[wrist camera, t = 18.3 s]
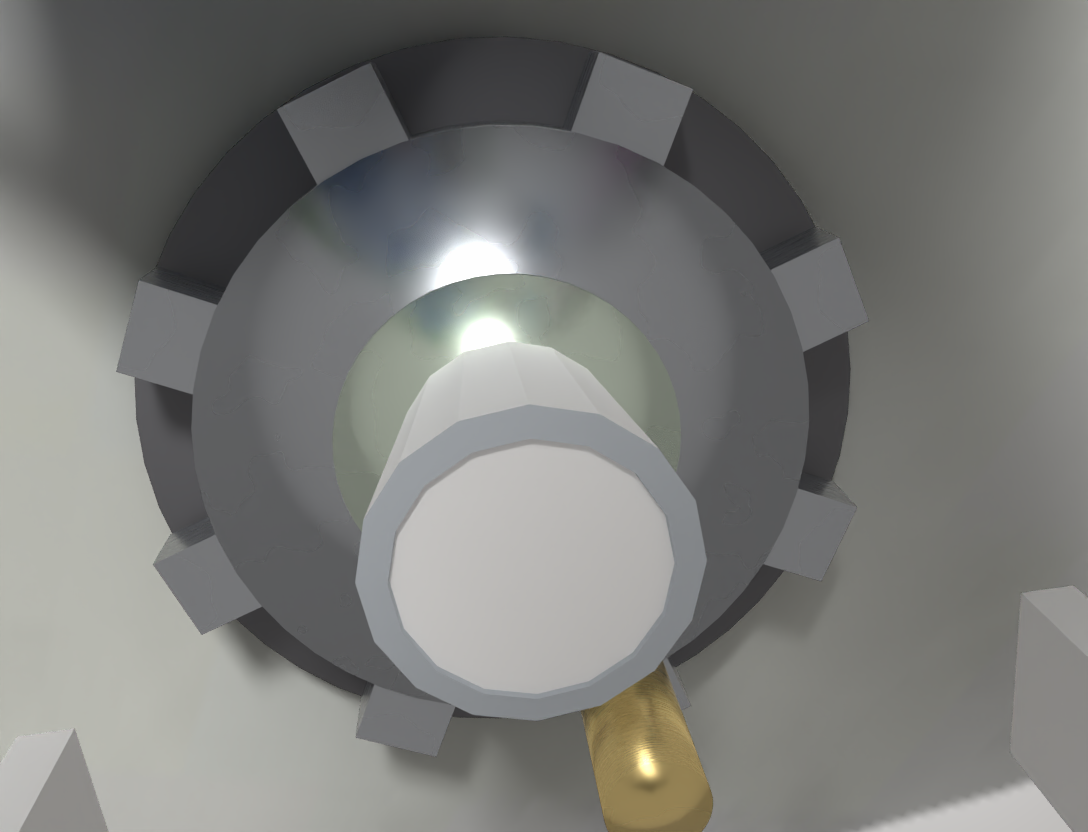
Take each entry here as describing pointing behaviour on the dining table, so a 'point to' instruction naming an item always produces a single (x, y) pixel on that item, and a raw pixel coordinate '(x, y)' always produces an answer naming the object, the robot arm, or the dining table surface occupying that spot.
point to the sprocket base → (428, 103)
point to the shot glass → (526, 540)
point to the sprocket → (481, 320)
